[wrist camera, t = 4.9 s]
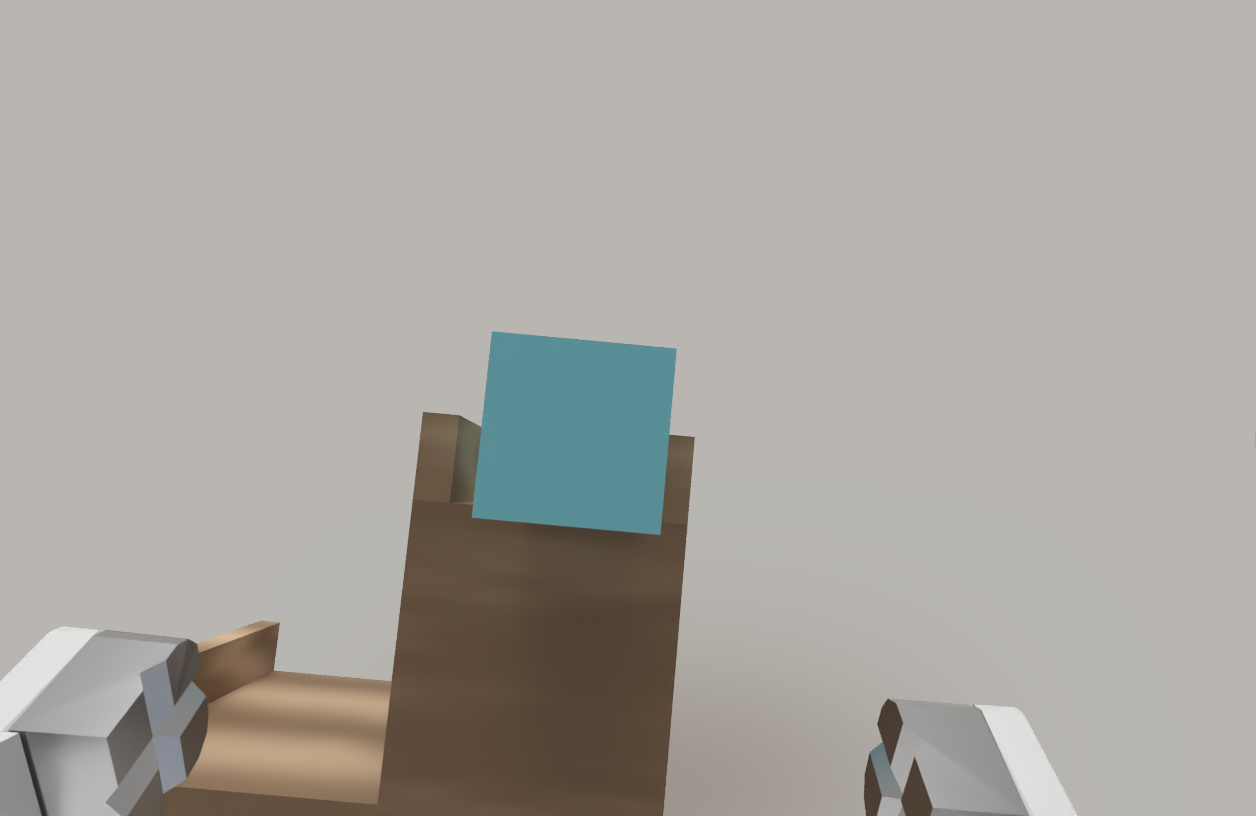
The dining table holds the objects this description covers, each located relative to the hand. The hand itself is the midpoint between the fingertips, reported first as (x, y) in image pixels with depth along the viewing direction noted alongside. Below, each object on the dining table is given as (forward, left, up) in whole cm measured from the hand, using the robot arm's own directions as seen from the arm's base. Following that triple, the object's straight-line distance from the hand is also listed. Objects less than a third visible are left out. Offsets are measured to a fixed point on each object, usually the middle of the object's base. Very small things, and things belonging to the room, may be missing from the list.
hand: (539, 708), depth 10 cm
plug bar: (-12, -8, +2) cm, 15 cm away
